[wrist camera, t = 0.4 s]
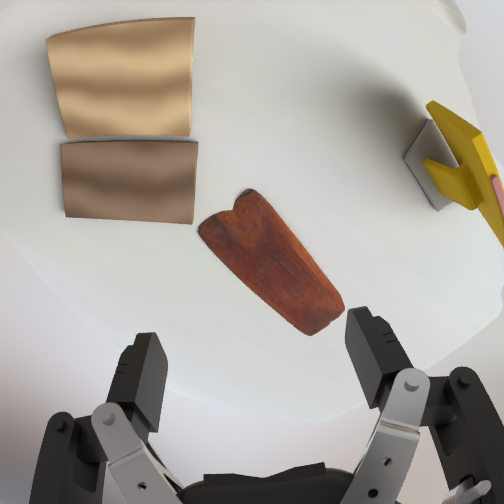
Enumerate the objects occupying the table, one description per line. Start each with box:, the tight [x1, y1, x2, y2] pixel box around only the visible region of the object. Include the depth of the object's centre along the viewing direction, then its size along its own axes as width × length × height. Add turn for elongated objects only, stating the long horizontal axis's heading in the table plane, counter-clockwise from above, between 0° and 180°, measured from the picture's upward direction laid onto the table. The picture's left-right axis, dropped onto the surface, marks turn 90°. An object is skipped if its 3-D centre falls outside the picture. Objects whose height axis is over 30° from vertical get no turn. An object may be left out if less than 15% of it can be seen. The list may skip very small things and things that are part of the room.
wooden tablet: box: [199, 189, 345, 336], centre depth 42 cm, size 27×10×2 cm, turn 38°
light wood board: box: [46, 17, 195, 138], centre depth 25 cm, size 14×16×2 cm
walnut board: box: [61, 140, 198, 225], centre depth 33 cm, size 10×18×2 cm, turn 83°
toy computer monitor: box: [404, 101, 504, 248], centre depth 29 cm, size 20×8×16 cm, turn 46°
